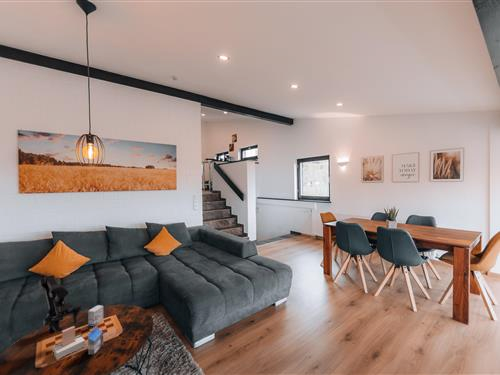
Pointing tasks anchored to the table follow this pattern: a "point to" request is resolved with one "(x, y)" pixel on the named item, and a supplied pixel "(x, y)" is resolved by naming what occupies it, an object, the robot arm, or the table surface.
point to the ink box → (95, 315)
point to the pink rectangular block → (68, 336)
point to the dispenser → (68, 347)
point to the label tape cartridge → (95, 341)
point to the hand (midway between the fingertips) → (66, 328)
